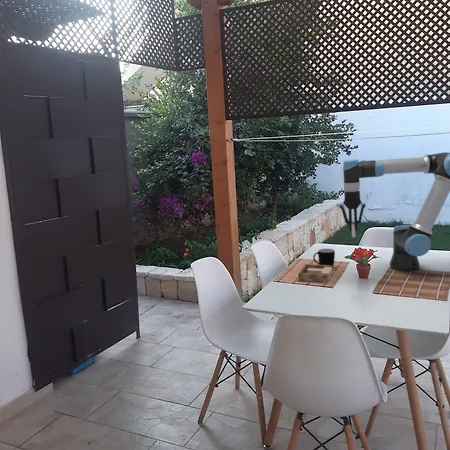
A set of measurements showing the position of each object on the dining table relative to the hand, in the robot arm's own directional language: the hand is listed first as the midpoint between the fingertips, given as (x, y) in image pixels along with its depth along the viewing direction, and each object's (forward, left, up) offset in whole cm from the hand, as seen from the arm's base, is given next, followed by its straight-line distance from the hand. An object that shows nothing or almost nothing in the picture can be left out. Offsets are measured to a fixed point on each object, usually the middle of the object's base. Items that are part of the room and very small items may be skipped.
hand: (353, 236), depth 237 cm
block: (+17, +3, -21) cm, 27 cm away
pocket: (+18, +3, -21) cm, 28 cm away
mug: (+17, -15, -21) cm, 31 cm away
